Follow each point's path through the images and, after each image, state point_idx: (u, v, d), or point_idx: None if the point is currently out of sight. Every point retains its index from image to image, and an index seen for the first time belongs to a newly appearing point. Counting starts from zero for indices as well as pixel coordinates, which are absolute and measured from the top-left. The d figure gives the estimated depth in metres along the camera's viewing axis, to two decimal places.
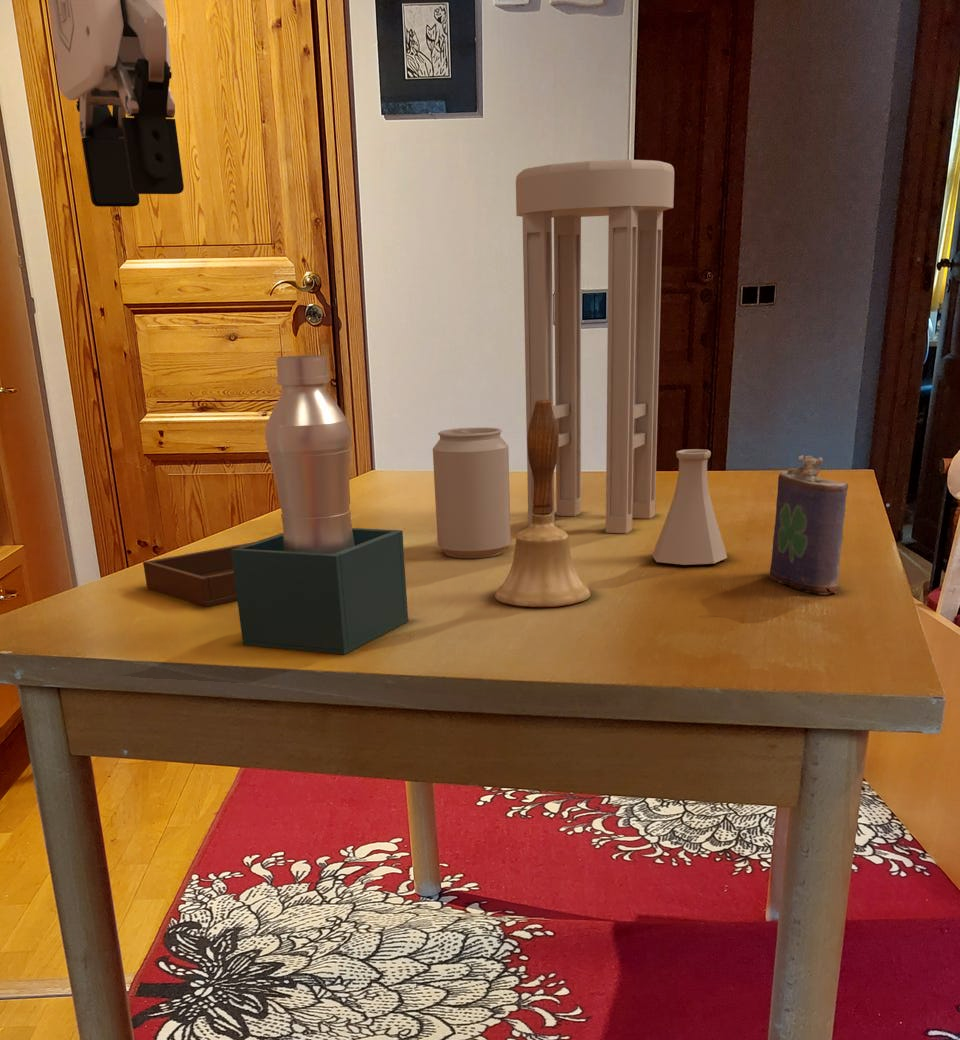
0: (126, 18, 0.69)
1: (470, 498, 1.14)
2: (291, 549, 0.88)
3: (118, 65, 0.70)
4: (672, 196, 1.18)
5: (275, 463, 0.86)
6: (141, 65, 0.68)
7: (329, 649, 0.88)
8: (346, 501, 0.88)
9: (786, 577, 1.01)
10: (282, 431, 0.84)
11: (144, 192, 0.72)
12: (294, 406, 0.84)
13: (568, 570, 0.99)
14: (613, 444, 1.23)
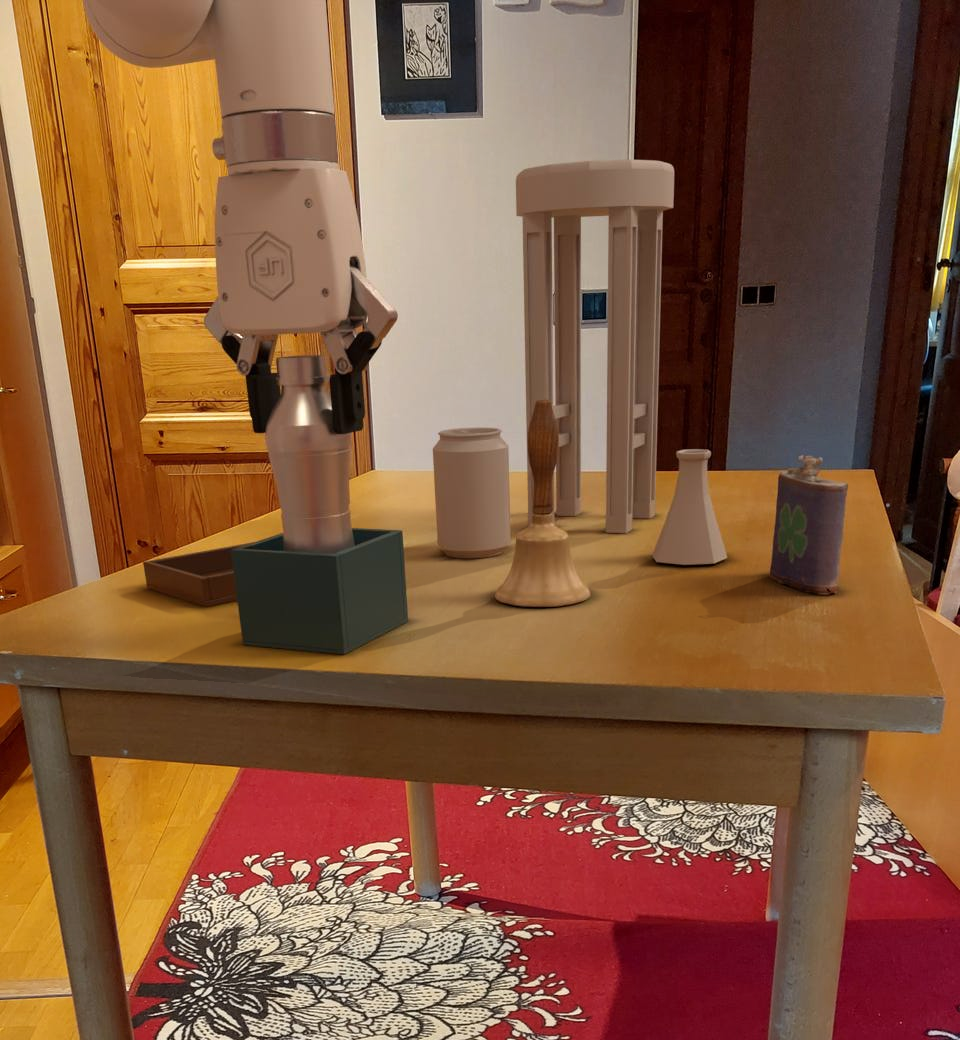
0: None
1: (470, 498, 1.14)
2: (291, 549, 0.88)
3: (335, 329, 0.81)
4: (672, 196, 1.18)
5: (274, 463, 0.86)
6: (368, 337, 0.81)
7: (329, 649, 0.88)
8: (346, 501, 0.88)
9: (786, 577, 1.01)
10: (282, 431, 0.84)
11: (345, 433, 0.84)
12: (294, 406, 0.84)
13: (568, 570, 0.99)
14: (613, 444, 1.23)
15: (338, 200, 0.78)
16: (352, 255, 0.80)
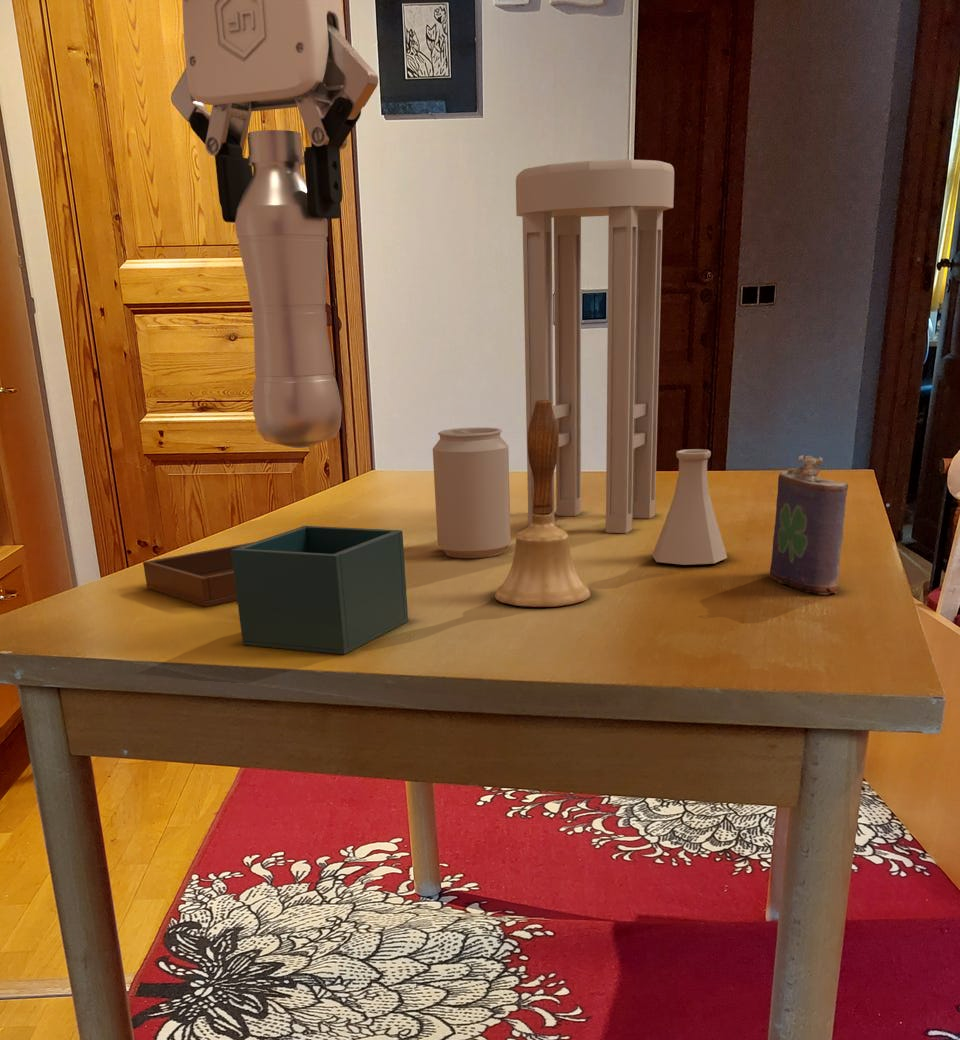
0: None
1: (470, 498, 1.14)
2: (262, 350, 0.82)
3: (311, 94, 0.75)
4: (672, 196, 1.18)
5: (244, 251, 0.80)
6: (346, 103, 0.75)
7: (329, 649, 0.88)
8: (321, 299, 0.82)
9: (786, 577, 1.01)
10: (252, 212, 0.78)
11: (321, 216, 0.78)
12: (266, 185, 0.78)
13: (568, 570, 0.99)
14: (613, 444, 1.23)
15: None
16: (329, 11, 0.74)
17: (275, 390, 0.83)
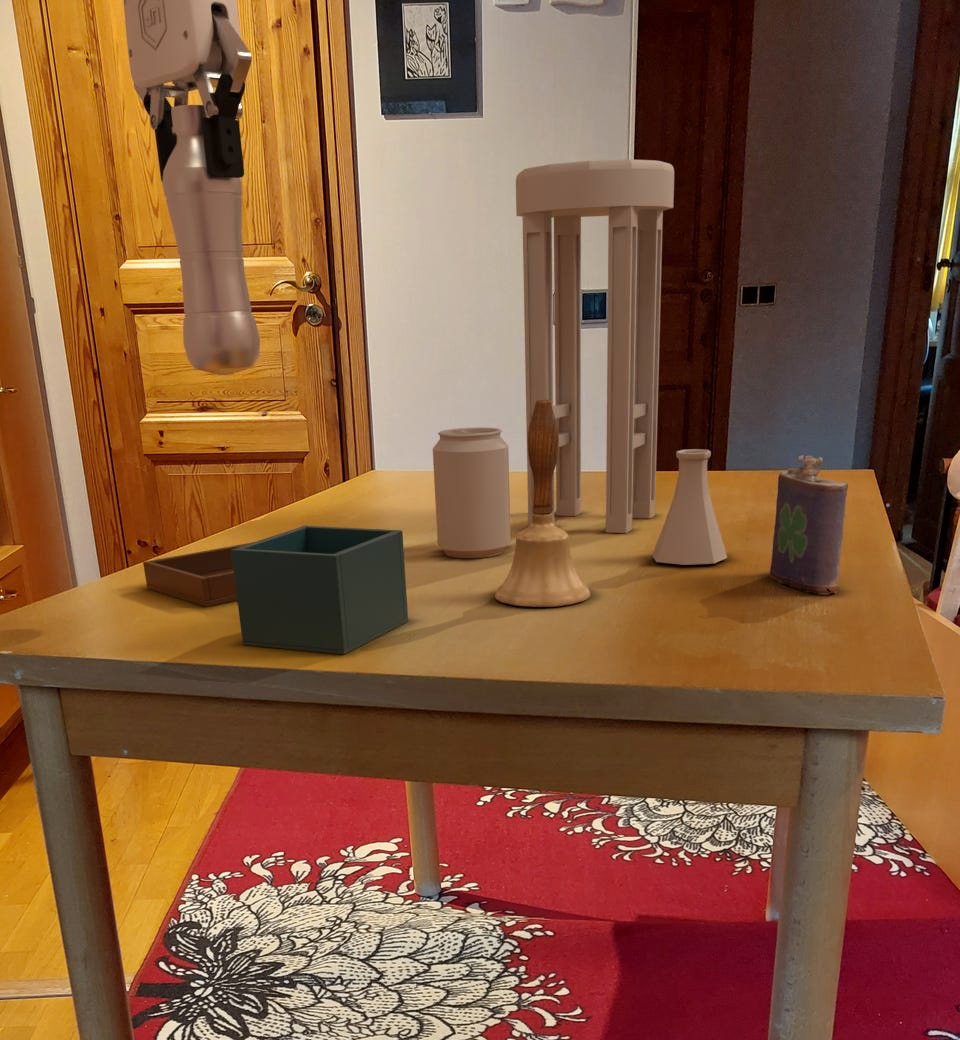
0: (212, 33, 0.89)
1: (470, 498, 1.14)
2: (183, 291, 0.99)
3: (203, 73, 0.91)
4: (672, 196, 1.18)
5: (168, 208, 0.97)
6: (226, 78, 0.90)
7: (329, 649, 0.88)
8: (230, 246, 0.97)
9: (786, 577, 1.01)
10: (167, 174, 0.95)
11: (218, 175, 0.94)
12: (178, 151, 0.94)
13: (568, 570, 0.99)
14: (613, 444, 1.23)
15: None
16: (217, 2, 0.89)
17: (190, 324, 0.99)
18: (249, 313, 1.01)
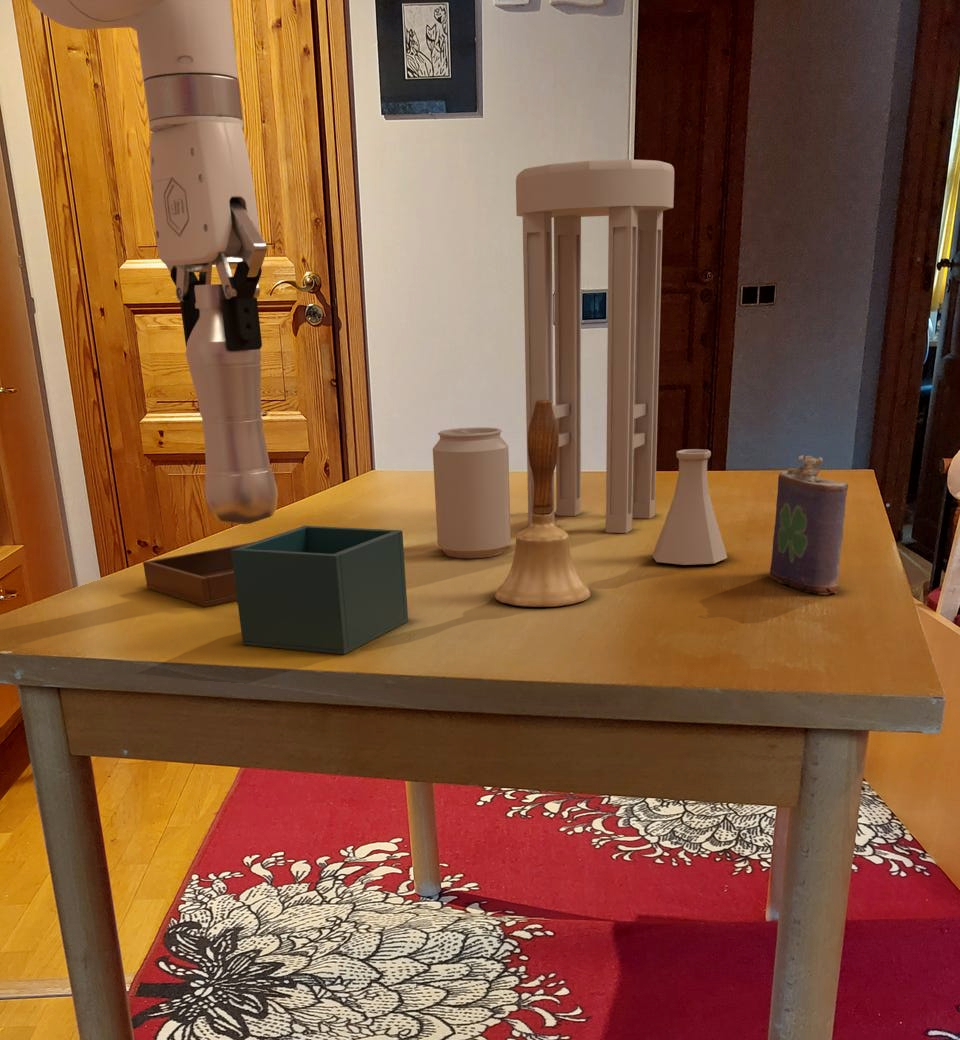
0: (231, 224, 0.95)
1: (470, 498, 1.14)
2: (205, 449, 1.05)
3: (223, 259, 0.96)
4: (672, 196, 1.18)
5: (191, 375, 1.03)
6: (243, 266, 0.95)
7: (329, 649, 0.88)
8: (249, 410, 1.03)
9: (786, 577, 1.01)
10: (189, 347, 1.01)
11: (236, 350, 0.99)
12: (200, 326, 1.00)
13: (568, 570, 0.99)
14: (613, 444, 1.23)
15: (218, 148, 0.92)
16: (235, 196, 0.94)
17: (211, 481, 1.05)
18: (267, 468, 1.06)
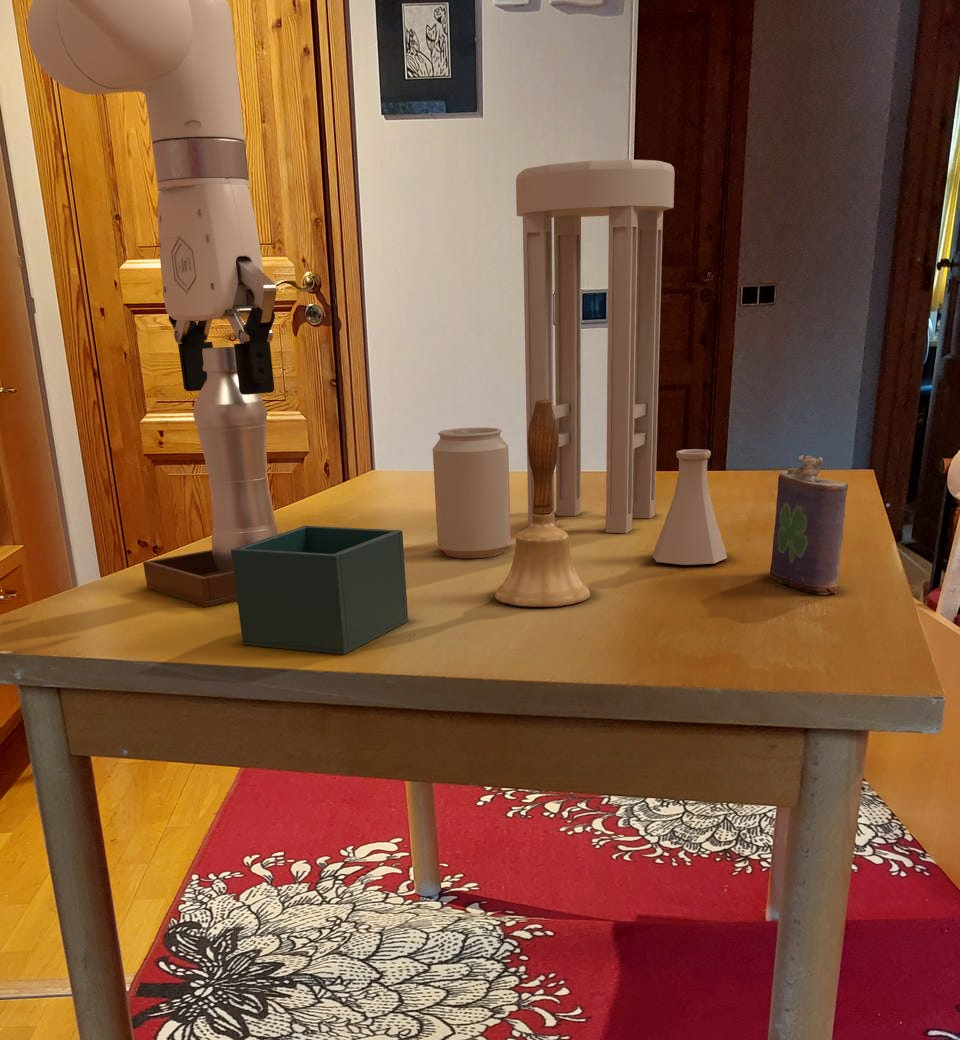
0: (240, 277, 0.96)
1: (470, 498, 1.14)
2: (212, 506, 1.07)
3: (232, 308, 0.97)
4: (672, 196, 1.18)
5: (198, 435, 1.05)
6: (256, 312, 0.96)
7: (329, 649, 0.88)
8: (255, 470, 1.05)
9: (786, 577, 1.01)
10: (197, 408, 1.03)
11: (249, 393, 1.00)
12: (207, 388, 1.02)
13: (568, 570, 0.99)
14: (613, 444, 1.23)
15: (225, 210, 0.94)
16: (242, 255, 0.96)
17: (217, 537, 1.07)
18: (272, 525, 1.08)
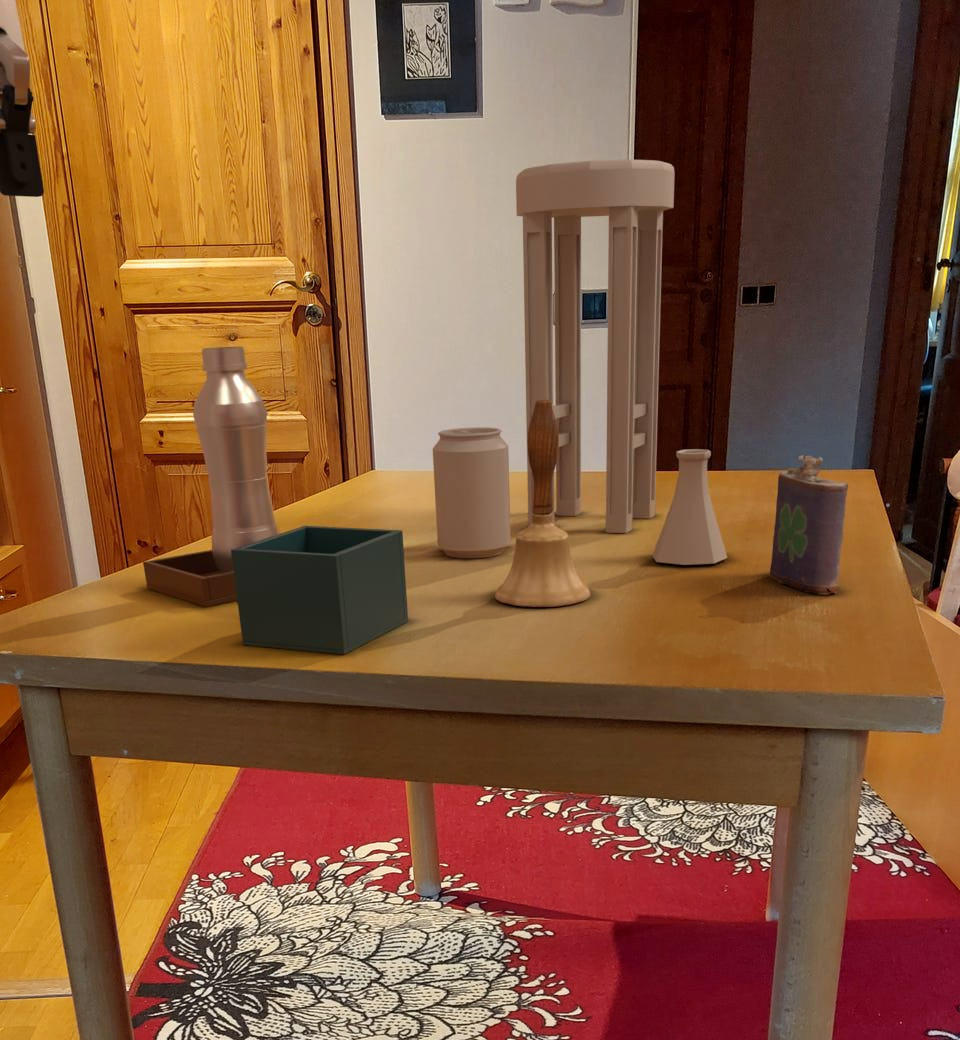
0: None
1: (470, 498, 1.14)
2: (212, 507, 1.07)
3: None
4: (672, 196, 1.18)
5: (198, 435, 1.05)
6: (8, 90, 0.83)
7: (329, 649, 0.88)
8: (255, 470, 1.05)
9: (786, 577, 1.01)
10: (197, 409, 1.03)
11: (11, 194, 0.87)
12: (207, 388, 1.02)
13: (568, 570, 0.99)
14: (613, 444, 1.23)
15: None
16: None
17: (217, 537, 1.07)
18: (272, 525, 1.08)
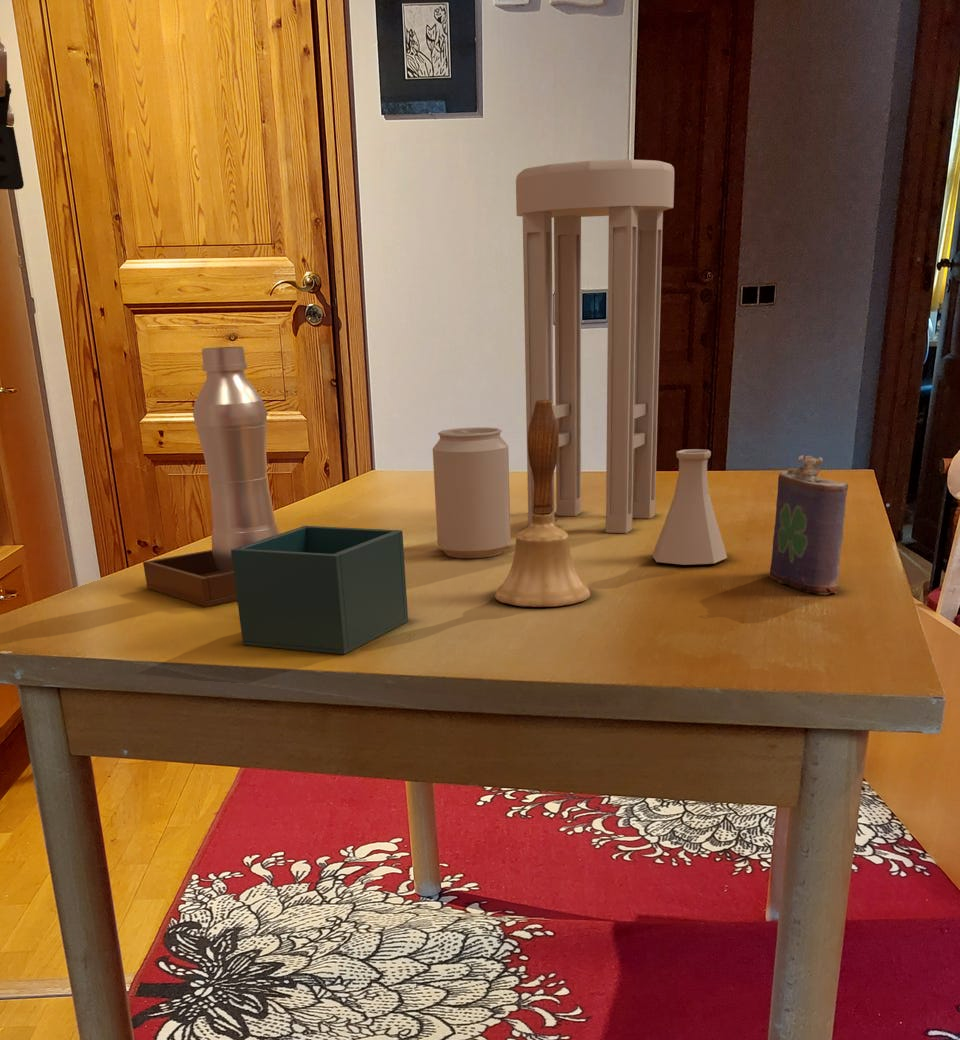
0: None
1: (470, 498, 1.14)
2: (212, 507, 1.07)
3: None
4: (672, 196, 1.18)
5: (198, 435, 1.05)
6: None
7: (329, 649, 0.88)
8: (254, 470, 1.05)
9: (786, 577, 1.01)
10: (197, 409, 1.03)
11: None
12: (207, 388, 1.02)
13: (568, 570, 0.99)
14: (613, 444, 1.23)
15: None
16: None
17: (217, 537, 1.07)
18: (272, 525, 1.08)
